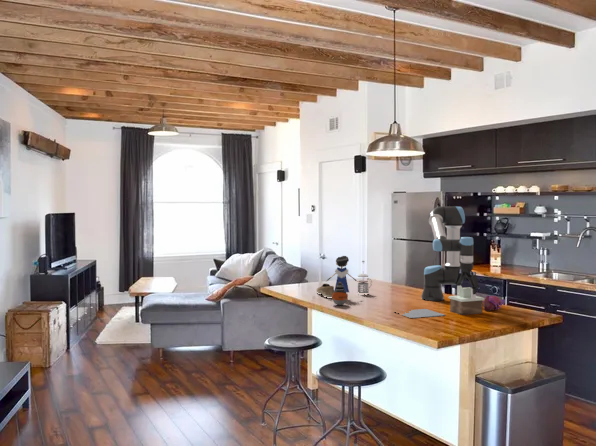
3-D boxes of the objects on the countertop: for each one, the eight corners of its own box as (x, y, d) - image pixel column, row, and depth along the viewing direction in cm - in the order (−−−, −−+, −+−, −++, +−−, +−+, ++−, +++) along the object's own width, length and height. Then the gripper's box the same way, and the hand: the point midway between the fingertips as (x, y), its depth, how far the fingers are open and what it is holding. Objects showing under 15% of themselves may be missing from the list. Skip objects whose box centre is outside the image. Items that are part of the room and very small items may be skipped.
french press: (360, 292, 386) (360, 259, 385) (374, 294, 379) (374, 260, 379) (354, 294, 378) (354, 260, 377) (368, 296, 371) (368, 261, 370)
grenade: (347, 307, 329) (347, 283, 328) (331, 306, 331) (331, 283, 331) (348, 304, 340) (348, 281, 339) (333, 303, 342) (333, 281, 341)
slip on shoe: (315, 292, 389) (315, 280, 389) (329, 292, 390) (329, 280, 390) (321, 299, 360) (321, 286, 359) (337, 298, 361) (337, 286, 361)
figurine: (357, 297, 364) (357, 255, 364) (358, 299, 355) (358, 256, 355) (325, 297, 367) (325, 255, 366) (325, 299, 358) (325, 256, 357)
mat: (392, 312, 312) (392, 311, 312) (425, 309, 321) (425, 308, 321) (410, 318, 293) (410, 317, 293) (445, 315, 302) (445, 314, 302)
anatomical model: (486, 311, 313) (510, 307, 315) (482, 296, 315) (505, 291, 317) (479, 312, 325) (501, 308, 326) (475, 297, 327) (497, 293, 328)
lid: (448, 298, 315) (448, 287, 314) (470, 296, 320) (470, 285, 320) (461, 301, 303) (461, 290, 303) (484, 300, 309) (484, 288, 308)
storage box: (450, 311, 314) (450, 298, 314) (470, 309, 320) (470, 297, 319) (461, 314, 304) (461, 301, 304) (482, 313, 309) (482, 300, 309)
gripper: (448, 260, 321) (448, 294, 322) (475, 264, 298) (474, 301, 299) (458, 260, 324) (458, 294, 324) (485, 264, 301) (485, 300, 301)
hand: (466, 297), depth 312 cm, fingers closed on lid, 12 cm apart
